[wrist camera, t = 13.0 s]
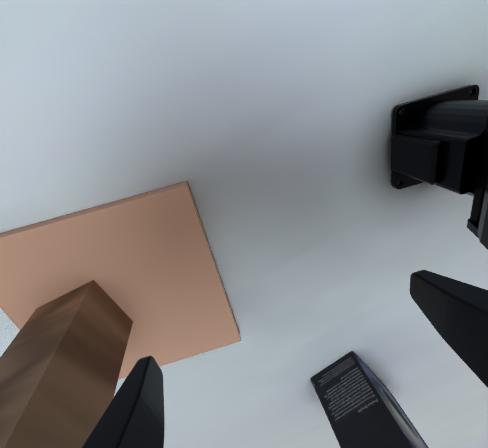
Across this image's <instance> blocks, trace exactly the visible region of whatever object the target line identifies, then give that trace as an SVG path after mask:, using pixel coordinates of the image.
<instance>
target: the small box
mask: <svg viewBox="0 0 488 448" xmlns="http://www.w3.org/2000/svg"><path fill="white" fill-rule="evenodd" d="M311 382H312V384H313V386H314V389H315V391H316V393H317V395H318V397H319V399H320V402H321V404H322V406H323V408H324V411H325V413H326V415H327V418H328V420H329V422H330V424H331V427H332V429H333V431H334V433H335V436H336V438H337V440H338V442H339V445H340V447H341V448H428V446H427V445H426V443H425V442H424V440H423V439H422V437H421V436H420V434H419V433H418V431H417V430H416V428H415V427H414V426H413V424H412V423H411V421H410V420H409V418H408V417H407V415H406V414H405V412H404V411H403V409H402V408H401V407H400V405H399V404H398V402H397V401H396V399H395V398H394V397H393V395H392V394H391V392H390V391H389V390H388V389H387V387H386V386H385V385H384V384H383V383H382V382H381V381H380V380H379V379H378V378H377V377H376V376H375V374H374V373H373V372H372V371H371V370H370V369H369V368H368V367H367V366H366V365H365V364H364V363H363V362H362V361H361V360H360V358H359V357H358V356H357V355H356V354H355V353H354V352H353V351H351V352H350V353H348V354H347V355H345V356H344V357H342V358H341V359H339V360H338V361H336V362H335V363H333V364H332V365H330V366H329V367H327V368H326V369H324V370H323V371H321V372H320V373H318V374H317V375H315V376H314V377H312V378H311Z"/></svg>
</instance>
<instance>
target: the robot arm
mask: <svg viewBox="0 0 488 448" xmlns="http://www.w3.org/2000/svg"><path fill="white" fill-rule="evenodd" d="M470 91H471V94H470ZM478 96H479V87H478V86H477V85H468V86H464V87H461V88H457V89H454V90H450V91H446V92H443V93H439V94H436V95H432V96H428V97H425V98H421V99H418V100H414V101H410V102H407V103H403V104H400V105H397V106H396V107H395V108H394V110H393V123H392V147H391V169H392V179H391V184H392V186H393V187H394V188H396V189H402V188H405V187H409V186H412V185H416V184H419V183H422V182H425V183H428V184H431V185H433V184H434V185H437V186H440V187H442V188H445V189H448V190H450V191H453V192H456V193H459V194H468V195H471V196H474V199H473V205H472V210H471V216H470V219H468V223H467V228H468V229H469V230H470V231H471V232H473V233H474V234H475V235H476V236H477V237H478V238H479V240H480V242H481V243H482V244H483V245H484V246H485V247H486V248H487V249H488V100H478ZM401 109H402V113H401V115H400V110H401ZM399 181H400V183H399V184H398V182H399ZM397 184H398V185H397ZM410 294H411V297H412V298H413V300H414V301H415V302H416V304H417V305H418V306H419V308H420V309H421V310H422V312H423V313H424V314H425V316H426V317H427V318H428V320H429V321H430V322H431V324H432V325H433V326H434V328H435V329H436V330H437V332H438V333H439V334H440V335H441V337H442V338H443V339H444V340H445V341H446V342H447V343H448V345H449V346H450V347H451V348H452V349H453V350H454V351H455V352H456V353H457V354H458V356H459V357H460V358H461V359H462V360H463V361H464V362H465V363H466V364H467V365H468V367H469V368H470V369H471V370H472V371H473V372H474V373H475V374H476V375H477V376H478V377H479V379H480V380H481V381H482V382H483V383H484V384H485V385H486V386H487V387H488V290H485V289H482V288H479V287H476V286H473V285H469V284H466V283H463V282H460V281H457V280H454V279H451V278H448V277H445V276H442V275H439V274H436V273H432V272H429V271H426V270H421V271H418V272H414V273H412V274H411V278H410ZM163 445H164V394H163V374H162V371H161V369H160V367H159V366H158V364H157V362H156V361H155V359H154V357H153V356H147V357H143V358H140V359H139V360H138V361H137V362H136V364H135V365H134V367H133V368H132V370H131V372H130V373H129V375H128V376H127V378H126V379H125V381H124V382H123V384H122V386H121V387H120V389H119V390H118V392H117V393H116V395H115V396H114V398H113V399H112V401H111V403H110V404H109V406H108V407H107V409H106V410H105V412H104V413H103V415H102V417H101V418H100V420H99V421H98V423H97V424H96V426H95V427H94V429H93V431H92V432H91V434H90V435H89V437H88V438H87V440H86V441H85V443H84V444H83V446H82V448H163Z"/></svg>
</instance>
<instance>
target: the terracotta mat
mask: <svg viewBox="0 0 488 448" xmlns="http://www.w3.org/2000/svg"><path fill="white" fill-rule="evenodd" d="M92 280H94V281H95V282H96V283H97V284H98V285H99V286H100V287H101V288H102V289H103V290H104V291H105V292H106V293H107V294H108V295H109V296H110V297H111V298H112V300H113V301H114V302H115V303H116V304H117V305H118V306H119V307H120V308H121V309H122V310H123V311H124V312H125V313H126V314H127V315H128V316H129V317H130V319H131V320H132V321H133V324H132V328H131V332H130V336H129V339H128V343H127V347H126V351H125V355H124V358H123V362H122V366H121V370H120V374H119V378H118V379H121V378H124V377H127V376H128V375H129V373H130V372H131V370H132V368H133V367H134V365H135V364H136V362H137V361H138V360H139V359H140V358H143V357H147V356H153V357H154V359H155V361H156V362H157V364H158V366H162V365H165V364H169V363H172V362H175V361H178V360H181V359H185V358H188V357H191V356H194V355H197V354H200V353H204V352H207V351H210V350H213V349H216V348H220V347H223V346H226V345H229V344H232V343H235V342H239V341H241V337H240V332H239V330H238V327H237V324H236V321H235V318H234V315H233V312H232V309H231V306H230V304H229V301H228V298H227V295H226V292H225V289H224V286H223V283H222V280H221V278H220V275H219V272H218V269H217V266H216V263H215V260H214V257H213V254H212V252H211V249H210V246H209V243H208V240H207V237H206V234H205V231H204V228H203V226H202V223H201V220H200V217H199V214H198V211H197V208H196V205H195V202H194V200H193V197H192V194H191V191H190V188H189V185H188V182H187V181H186V182H182V183H179V184H175V185H172V186H168V187H165V188H161V189H157V190H154V191H150V192H147V193H143V194H140V195H136V196H133V197H129V198H125V199H122V200H118V201H115V202H111V203H108V204H104V205H101V206H97V207H93V208H90V209H86V210H83V211H79V212H76V213H72V214H69V215H65V216H61V217H58V218H54V219H51V220H47V221H44V222H40V223H36V224H33V225H29V226H26V227H22V228H19V229H15V230H12V231H8V232H4V233H1V234H0V308H1V309H2V310H3V311H4V312H5V313H6V314H7V316H8V317H9V318H10V319H11V320H12V321H13V322H14V324H15V325H16V326H17V327H18V328H19V329H20V330H21V329H22V327H23V326H24V325H25V323H26V322H27V321H28V319H29V318H30V317H31V315H32V314H33V312H34V311H35V310H36V308H38V307H40V306H42V305H44V304H46V303H48V302H50V301H52V300H54V299H56V298H58V297H60V296H62V295H64V294H66V293H68V292H70V291H72V290H74V289H76V288H78V287H80V286H82V285H84V284H86V283H88V282H90V281H92Z"/></svg>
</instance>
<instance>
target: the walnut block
mask: <svg viewBox="0 0 488 448" xmlns="http://www.w3.org/2000/svg"><path fill="white" fill-rule="evenodd" d="M132 324H133V321H132V320H131V319H130V317H129V316H128V315H127V314H126V313H125V312H124V311H123V310H122V309H121V308H120V307H119V306H118V305H117V304H116V303H115V302H114V301H113V300H112V298H111V297H110V296H109V295H108V294H107V293H106V292H105V291H104V290H103V289H102V288H101V287H100V286H99V285H98V284H97V283H96V282H95V281H94V280H92V281H90V282H88V283H86V284H84V285H82V286H80V287H78V288H76V289H74V290H72V291H70V292H68V293H66V294H64V295H62V296H60V297H58V298H56V299H54V300H52V301H50V302H48V303H46V304H44V305H42V306H40V307H38V308H36V310H35V311H34V312H33V314H32V315H31V317H30V318H29V319H28V321H27V322H26V323H25V325H24V326H23V327H22V329H21V330H20V332H19V333H18V334H17V336H16V337H15V338H14V340H13V341H12V342H11V344H10V345H9V347H8V348H7V349H6V351H5V352H4V353H3V355H2V356H1V357H0V448H82V446H83V444H84V443H85V441H86V440H87V438H88V437H89V435H90V434H91V432H92V431H93V429H94V427H95V426H96V424H97V423H98V421H99V420H100V418H101V417H102V415H103V413H104V412H105V410H106V409H107V407H108V406H109V404H110V403H111V401H112V399H113V397H114V393H115V389H116V385H117V381H118V378H119V374H120V370H121V366H122V362H123V358H124V355H125V351H126V347H127V343H128V339H129V336H130V332H131V328H132Z"/></svg>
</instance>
